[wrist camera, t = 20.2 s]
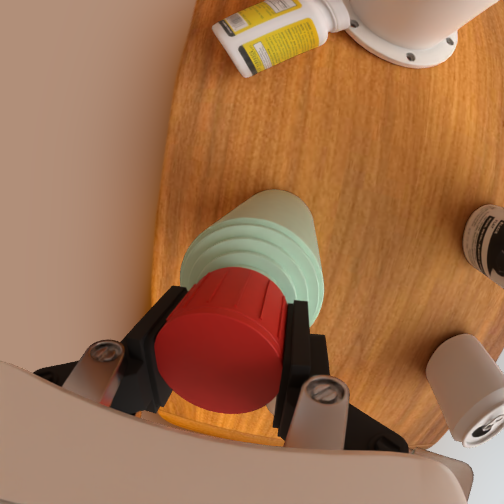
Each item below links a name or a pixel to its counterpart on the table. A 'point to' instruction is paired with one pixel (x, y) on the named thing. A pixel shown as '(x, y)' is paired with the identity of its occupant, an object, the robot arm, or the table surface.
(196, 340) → the cap
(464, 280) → the table surface
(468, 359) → the can
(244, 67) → the supplement bottle
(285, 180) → the table surface
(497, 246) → the spray can
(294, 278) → the bottle
